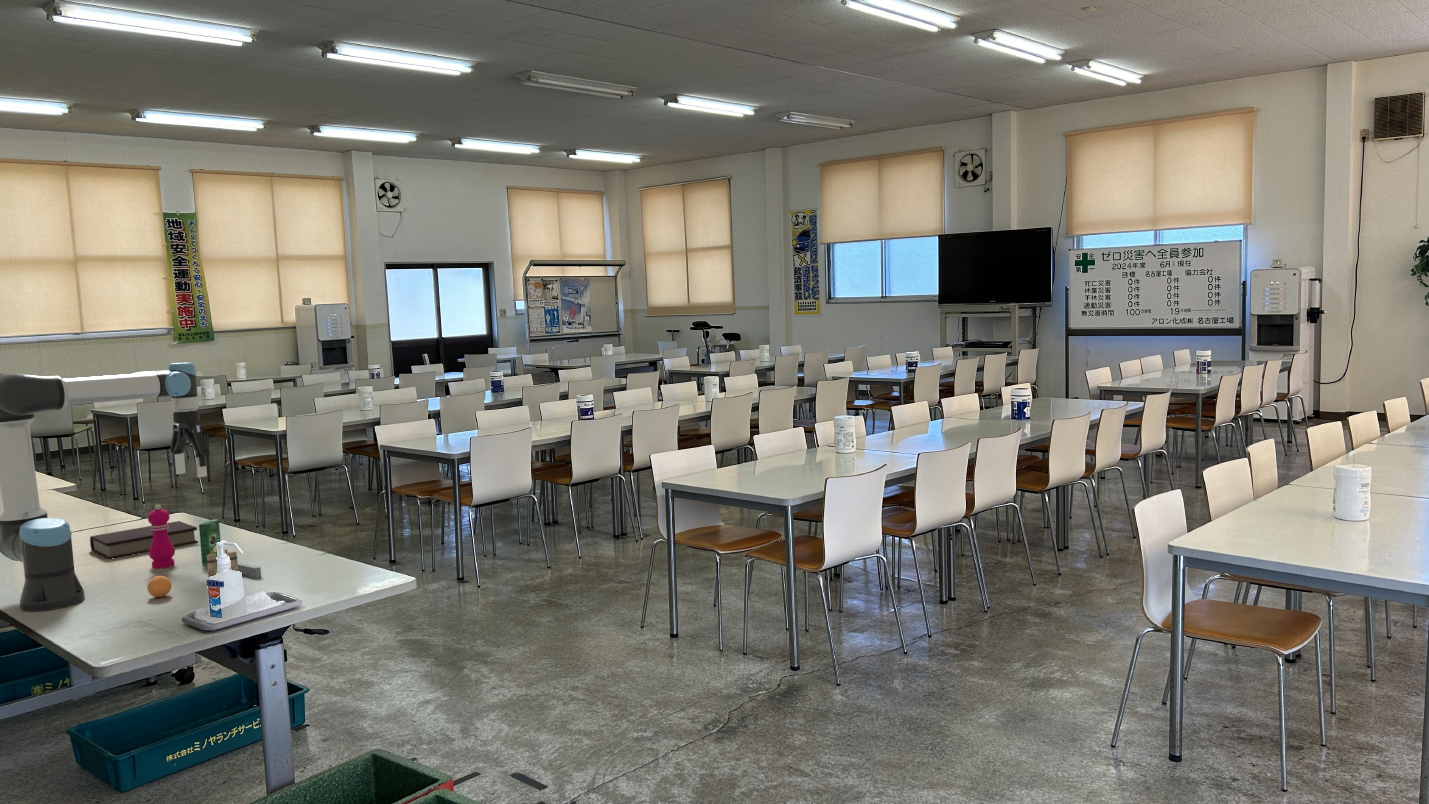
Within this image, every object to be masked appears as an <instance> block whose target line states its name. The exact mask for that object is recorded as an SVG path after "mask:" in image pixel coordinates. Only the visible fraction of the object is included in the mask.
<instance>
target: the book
mask: <svg viewBox="0 0 1429 804" xmlns="http://www.w3.org/2000/svg"><path fill="white" fill-rule="evenodd" d="M167 523H168V527H169V528H167V533H168V537H169V539H170V541H171V543H172V544H173V546H174V548H176V547H181V546H187V545H193V544H197V543H198V544H199V541H198V540H196V536H195V531H197V530H198V527H197V526H194V525H191V524H189V523H186V522H184V521H180V520H178V521H173V522H172V521H171V522H167ZM150 526H151V525H149V526H143V527H138V528H136V527H135V528H131V529H125V530H120V531H113V532H108V533H103V534H96V535H91V536H90V538H89V544H90V545H89V546H90V550H91V552H92V551H93V553H94V552H95V553H94V554H96V553H97V555H98V554H99V555H98V556H100V555H101V557H102V556H103V558H104V557H105V558H104V559H106V558H107V559H106V560H108V559H109V560H113V559H112V558H114V559H119V558H124V556H125V557H129V556H134V555H133V554H135V555H139V554H138V553H141V554H144V553H143V552H146V553H149V550H150V546H151V544H152V540H153V532H152V530H151V527H150ZM118 557H119V558H118Z"/></svg>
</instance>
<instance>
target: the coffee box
mask: <svg viewBox="0 0 1429 804" xmlns="http://www.w3.org/2000/svg"><path fill="white" fill-rule="evenodd" d="M220 530H221V529H220V519H210V520H207V521H206V522H205V521H204V522H202V523H200V524H198V531H199V539H200V540H199V542H200V553H201V554H200V555H201V565H208V564H207V555H209V554H216V557H217V548H216V543H217V542H220V541H221V531H220Z"/></svg>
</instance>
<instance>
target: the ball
mask: <svg viewBox="0 0 1429 804" xmlns="http://www.w3.org/2000/svg"><path fill="white" fill-rule="evenodd" d="M146 589H147V592H148V593H149V594H150V596H152V597H154V598H163V597H165V596H167V595H168V594H169V593H170V592H171V589H172V581H171V580H170V579H169V578H168V577H167V576H164V575H156V576H154V577H152V578H151V579H150V580H149V581H148V583H147V587H146Z"/></svg>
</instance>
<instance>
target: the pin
mask: <svg viewBox="0 0 1429 804" xmlns="http://www.w3.org/2000/svg"><path fill="white" fill-rule="evenodd" d="M228 556H229V557H230V560H231V569H232V570H235V571H238V562H239V561H238V551H236V550H231V551H228Z"/></svg>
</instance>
